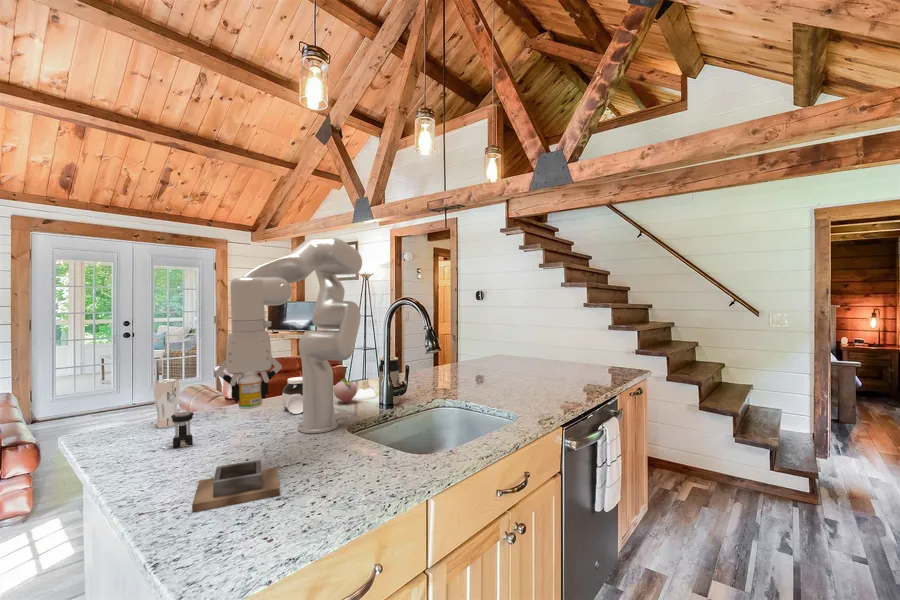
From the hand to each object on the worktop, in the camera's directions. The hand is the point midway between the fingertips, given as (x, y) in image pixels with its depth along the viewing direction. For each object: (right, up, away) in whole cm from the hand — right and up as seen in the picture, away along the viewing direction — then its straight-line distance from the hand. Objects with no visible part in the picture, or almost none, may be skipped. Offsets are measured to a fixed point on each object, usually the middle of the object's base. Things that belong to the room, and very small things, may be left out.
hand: (250, 398), depth 103 cm
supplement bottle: (0, -2, 0) cm, 2 cm away
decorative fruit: (+8, -17, +62) cm, 65 cm away
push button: (-27, -17, +14) cm, 35 cm away
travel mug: (+26, -17, +62) cm, 69 cm away
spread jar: (-7, -17, +52) cm, 55 cm away
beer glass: (-44, -17, +34) cm, 58 cm away
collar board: (+4, -17, -13) cm, 22 cm away
